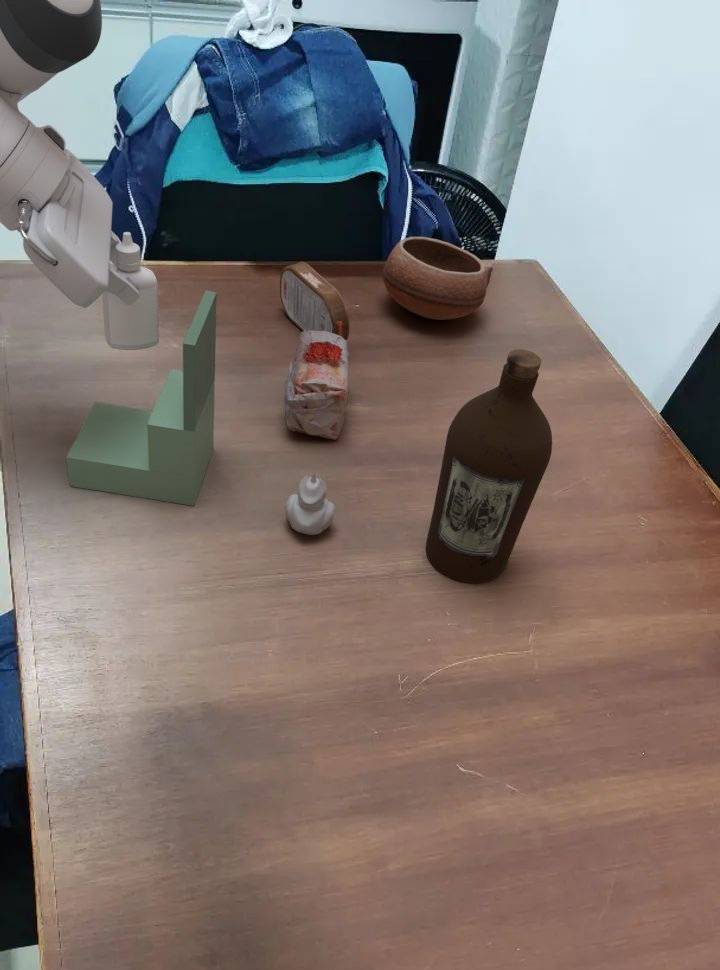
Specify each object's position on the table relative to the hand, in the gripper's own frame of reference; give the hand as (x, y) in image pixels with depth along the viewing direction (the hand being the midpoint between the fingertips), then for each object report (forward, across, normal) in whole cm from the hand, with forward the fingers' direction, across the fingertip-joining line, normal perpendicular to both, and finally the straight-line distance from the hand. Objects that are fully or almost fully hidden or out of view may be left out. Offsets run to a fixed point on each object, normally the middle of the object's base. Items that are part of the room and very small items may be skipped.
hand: (135, 286), depth 95 cm
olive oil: (+39, -21, -11) cm, 46 cm away
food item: (+29, +6, -2) cm, 30 cm away
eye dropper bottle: (+4, 0, +5) cm, 7 cm away
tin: (+30, +27, -3) cm, 41 cm away
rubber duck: (+27, -15, +1) cm, 31 cm away
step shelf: (+14, -5, +14) cm, 20 cm away
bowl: (+44, +34, -17) cm, 58 cm away
